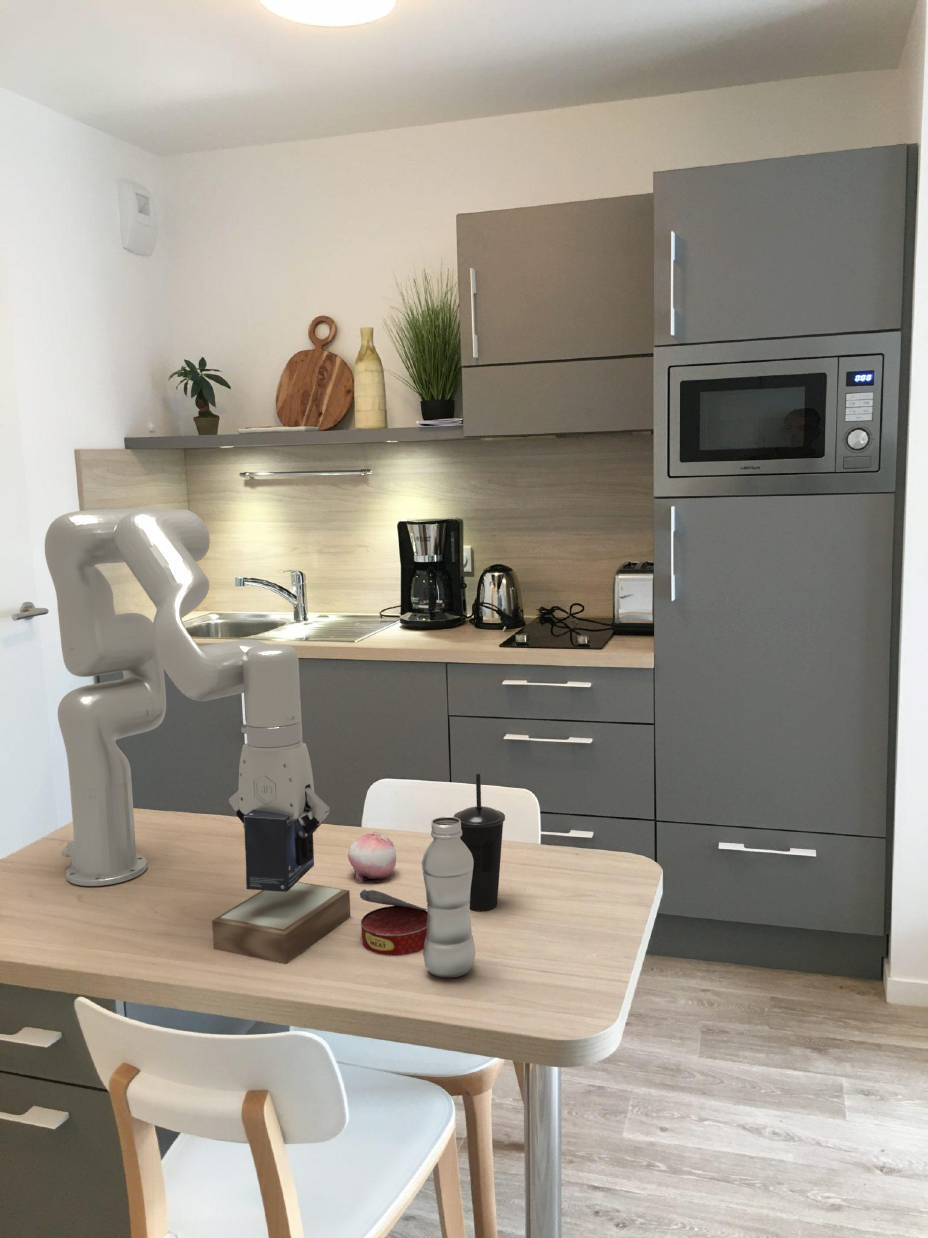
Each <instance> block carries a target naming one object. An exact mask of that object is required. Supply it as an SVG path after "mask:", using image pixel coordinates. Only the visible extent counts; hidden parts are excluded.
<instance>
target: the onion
mask: <svg viewBox="0 0 928 1238" xmlns="http://www.w3.org/2000/svg"><path fill="white" fill-rule="evenodd" d="M347 858H348V861H349V863H350V865H351V867H352V869H354V875H355V877H354V878H355V879H354V881H355V884H361V883H362V884H371V883H372V884H374V883H376V884H377V883H380V882H382V881H381V880H382V879H385V878H387V877H389V876H390V875H391V874H392V873H393V872H394V869H395V868H396V863H397V851H396V849H395V845H394V842H393V841H392V840H391V839H390V838H389V836H387V835H385V834H382V833H379V832H377V831H373V833H367V834H363V835H361V836H360V837H358V838H357V839H356V840H355V841H354V842H353V843H352V844H351V845H350V847H349V849H348V853H347ZM369 879H370V880H374V881H372V882H371V881H369V882H367V881H366V880H369Z"/></svg>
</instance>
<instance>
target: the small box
mask: <svg viewBox="0 0 928 1238" xmlns="http://www.w3.org/2000/svg"><path fill="white" fill-rule="evenodd" d="M309 813H310V815H311V817H312V818H313V811H312V812H309ZM301 820H302V818H301ZM302 822H303V820H302ZM303 824H304V822H303ZM304 826H305V824H304ZM243 829H244V850H245V874H246V875H245V889H246V890H249V891H250V890H252V891H253V890H255V891H262V890H266V891H279V892H287V891H289V890H290V889H291V888H292V887H293V886H294V885H295V884H296V883H297V882H300V880H301V879H302V878H303V877H304V876H305V875H306V874H307V873H308V872H309V871H310V870H312V868H313V867H314V866H315V856H314V855H315V853H314V854H313V859H312V860H311V861H309V862H307V863H306V864H304V865H302V866H298V865H297V864H296V841H295V840H296V838H297V837H298V836H299V835H298V833H297V831H296V829H295V822H294V821H291V820H290V818H289V815H284V814H279V813H274V812H267V811H260V810H252V811H250V812H249V813H248V814H246V815H245V816H244V828H243Z"/></svg>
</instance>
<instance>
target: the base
mask: <svg viewBox="0 0 928 1238" xmlns="http://www.w3.org/2000/svg"><path fill="white" fill-rule="evenodd" d="M350 894H351V893H350V889H349V890H348V889H343V888H338V887H331V886H326V885H321V884H314V883H307V882H304V881H303V882H301V881H298V882H297V883H296V884H295V885H294V886H293V887H292V888H291V889H290V890H289V891H287V892H279V891H266V890H259V892H257V893H254V894H253V895H252V896H250V897H248V898H247V899H245V900H244V901H242V902H240V903H239V904H237V905H235V906H233V907H232V908H230V909H229V910H227V911H225V912H223V913H222V914H221V915H219V916H217V917H215V918H213V919H212V920H211V921H212V924H211V925H212V937H213V938H212V940H213V949H215V950H220V951H225V952H229V953H234V954H240V955H244V956H249V957H253V958H258V959H263V960H267V961H271V962H273V961H274V962H278V963H282V964H289V963H290V962H291V961H292V960H293V959H295V958H296V957H298V956H299V955H300V954H302V953H303V952H304V951H306V950H307V949H309V948H310V947H312V946H313V945H314V944H315V943H317V942H318V941H319V940H321V939H322V938H323V937H325V936H326V935H328V934H329V933H330V932H332V931H333V930H334V929H336V928H338V927H339V926H340V925H341V924H343V923H344V922H345V921H347V920H348V919H349V918H351V917H352V915H351V897H350Z"/></svg>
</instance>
